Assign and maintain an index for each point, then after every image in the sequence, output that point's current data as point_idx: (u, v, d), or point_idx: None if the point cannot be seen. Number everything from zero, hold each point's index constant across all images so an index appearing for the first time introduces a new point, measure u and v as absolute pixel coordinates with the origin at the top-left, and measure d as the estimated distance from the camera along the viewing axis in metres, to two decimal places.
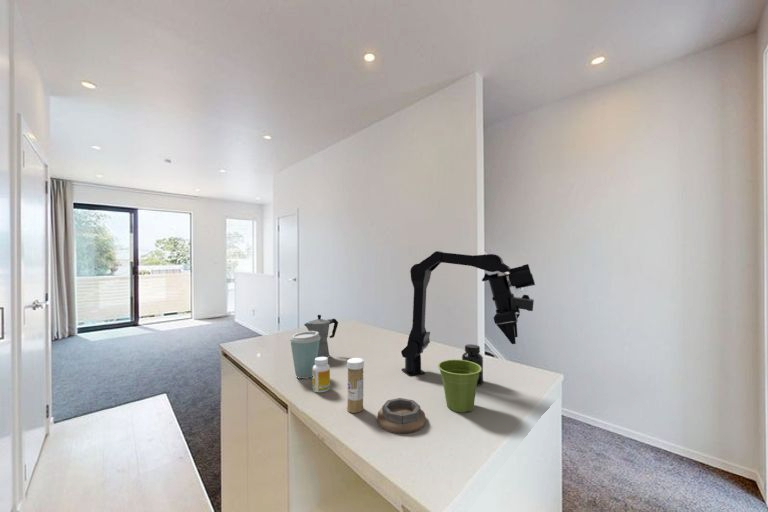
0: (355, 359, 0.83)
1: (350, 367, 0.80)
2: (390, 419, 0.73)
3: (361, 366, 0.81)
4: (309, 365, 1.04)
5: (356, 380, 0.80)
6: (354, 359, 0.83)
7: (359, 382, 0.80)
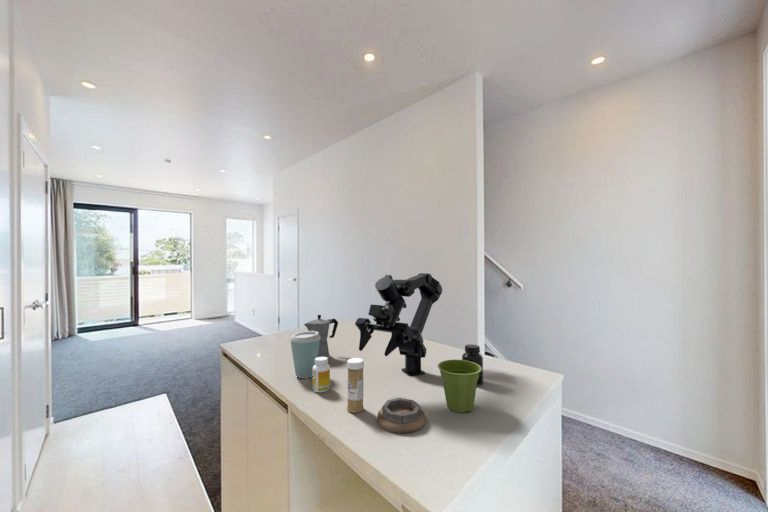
0: (355, 359, 0.83)
1: (350, 367, 0.80)
2: (390, 419, 0.73)
3: (361, 366, 0.81)
4: (309, 365, 1.04)
5: (356, 380, 0.80)
6: (354, 359, 0.83)
7: (359, 382, 0.80)
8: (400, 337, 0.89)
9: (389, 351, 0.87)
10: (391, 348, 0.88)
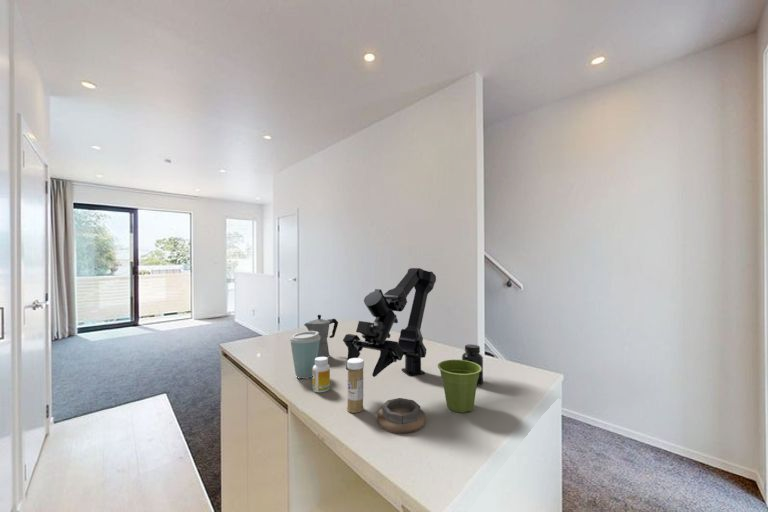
0: (355, 359, 0.83)
1: (350, 367, 0.80)
2: (390, 419, 0.73)
3: (361, 366, 0.81)
4: (309, 365, 1.04)
5: (356, 380, 0.80)
6: (354, 359, 0.83)
7: (359, 382, 0.80)
8: (389, 356, 0.84)
9: (377, 371, 0.82)
10: (380, 368, 0.83)
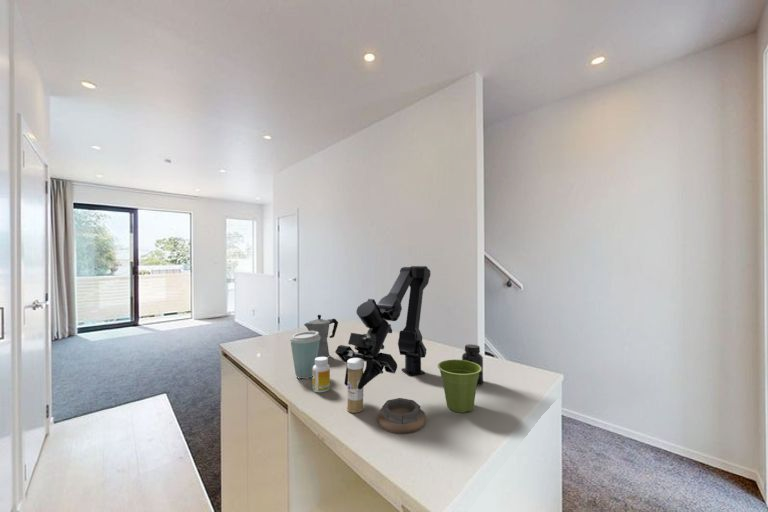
0: (355, 359, 0.83)
1: (350, 367, 0.80)
2: (390, 419, 0.73)
3: (361, 366, 0.81)
4: (309, 365, 1.04)
5: (356, 380, 0.80)
6: (354, 359, 0.83)
7: None
8: (376, 368, 0.83)
9: (363, 384, 0.81)
10: (365, 380, 0.81)
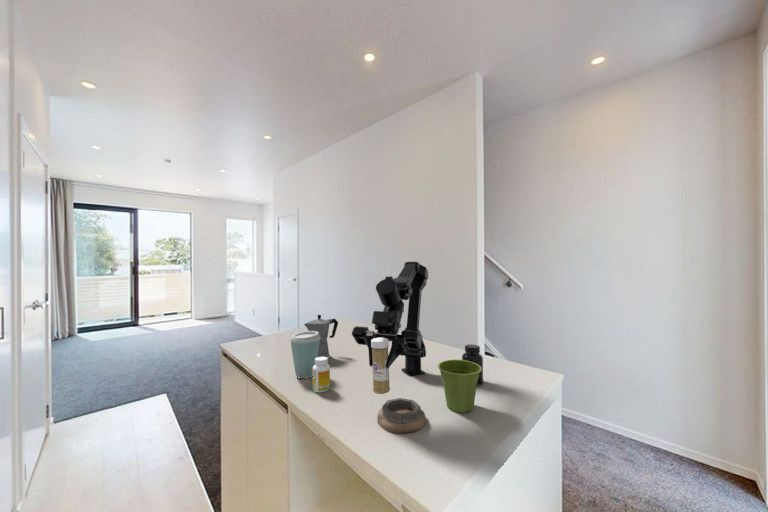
0: (379, 338, 0.79)
1: (377, 346, 0.77)
2: (390, 419, 0.73)
3: (387, 344, 0.78)
4: (309, 365, 1.04)
5: (384, 359, 0.77)
6: (378, 338, 0.79)
7: (386, 361, 0.77)
8: (400, 346, 0.80)
9: (390, 363, 0.78)
10: (392, 359, 0.78)
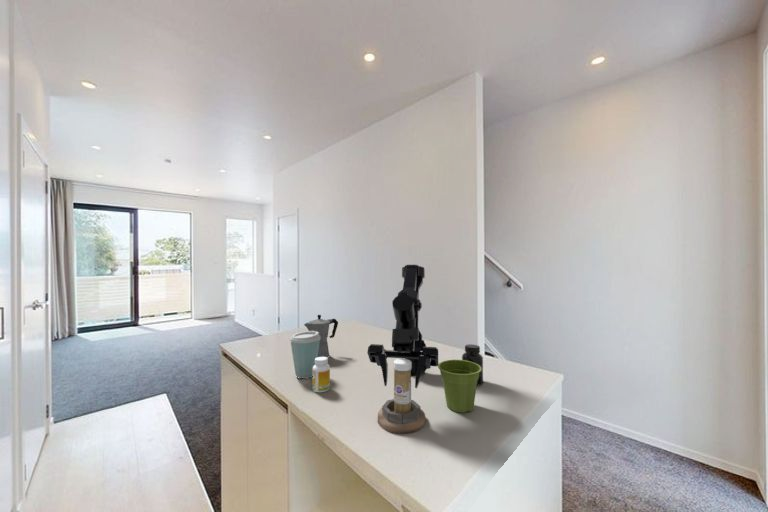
0: (401, 360, 0.77)
1: (402, 369, 0.75)
2: (390, 419, 0.73)
3: (411, 366, 0.76)
4: (309, 365, 1.04)
5: (408, 381, 0.75)
6: (400, 360, 0.77)
7: (410, 384, 0.76)
8: (426, 363, 0.79)
9: (418, 382, 0.76)
10: (420, 378, 0.76)
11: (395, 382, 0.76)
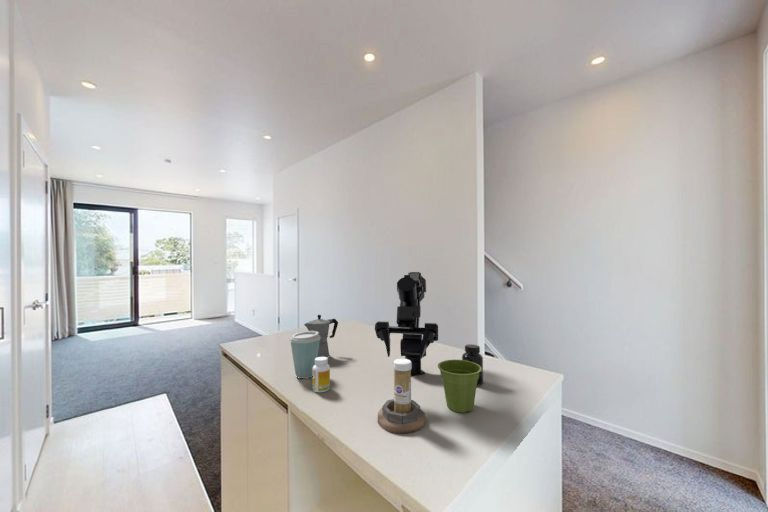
0: (401, 360, 0.77)
1: (402, 369, 0.75)
2: (390, 419, 0.73)
3: (411, 366, 0.76)
4: (309, 365, 1.04)
5: (408, 381, 0.75)
6: (400, 360, 0.77)
7: (410, 384, 0.76)
8: (429, 338, 0.88)
9: (423, 353, 0.85)
10: (424, 350, 0.86)
11: (395, 382, 0.76)
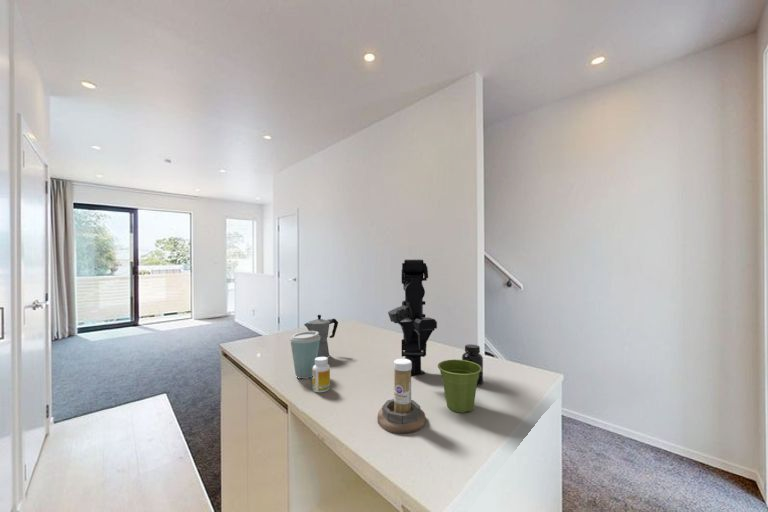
0: (401, 360, 0.77)
1: (402, 369, 0.75)
2: (390, 419, 0.73)
3: (411, 366, 0.76)
4: (309, 365, 1.04)
5: (408, 381, 0.75)
6: (400, 360, 0.77)
7: (410, 384, 0.76)
8: None
9: (422, 345, 0.93)
10: (423, 342, 0.92)
11: (395, 382, 0.76)
